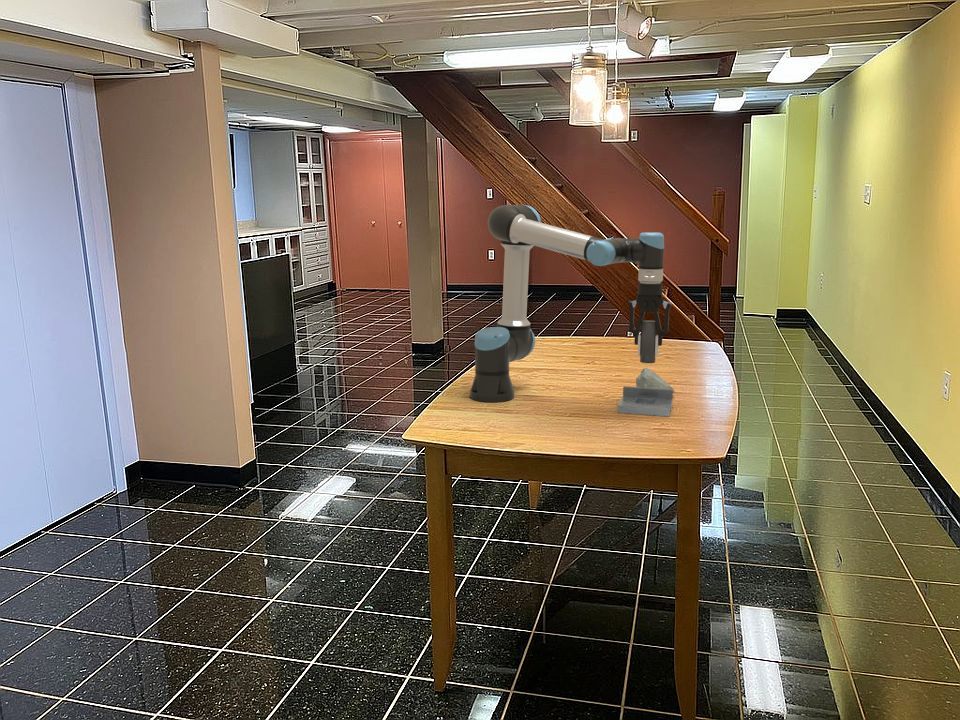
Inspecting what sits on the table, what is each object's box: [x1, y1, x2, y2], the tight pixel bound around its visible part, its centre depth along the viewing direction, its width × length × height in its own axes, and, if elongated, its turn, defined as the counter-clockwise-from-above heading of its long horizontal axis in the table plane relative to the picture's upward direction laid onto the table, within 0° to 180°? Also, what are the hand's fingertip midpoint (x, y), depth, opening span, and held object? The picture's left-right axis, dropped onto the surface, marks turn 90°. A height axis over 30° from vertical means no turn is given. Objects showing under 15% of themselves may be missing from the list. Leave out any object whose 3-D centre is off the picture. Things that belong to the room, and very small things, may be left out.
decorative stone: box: [635, 367, 675, 394], centre depth 279 cm, size 13×11×10 cm
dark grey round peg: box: [639, 320, 657, 364], centre depth 258 cm, size 5×5×13 cm
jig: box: [617, 385, 674, 418], centre depth 262 cm, size 16×14×6 cm
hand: (647, 355), depth 258 cm, fingers closed on dark grey round peg, 5 cm apart
